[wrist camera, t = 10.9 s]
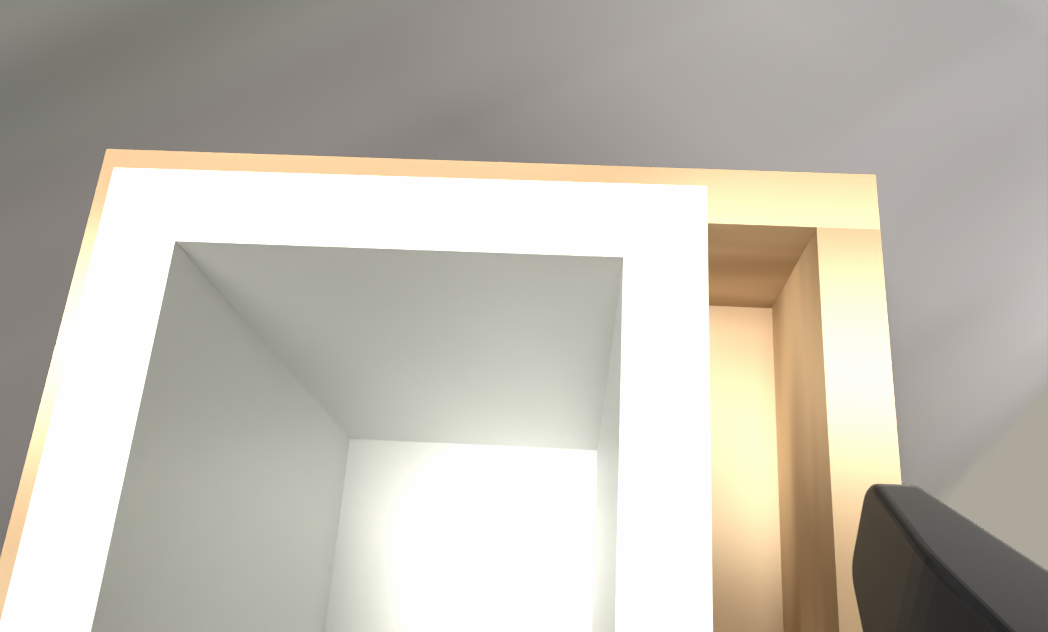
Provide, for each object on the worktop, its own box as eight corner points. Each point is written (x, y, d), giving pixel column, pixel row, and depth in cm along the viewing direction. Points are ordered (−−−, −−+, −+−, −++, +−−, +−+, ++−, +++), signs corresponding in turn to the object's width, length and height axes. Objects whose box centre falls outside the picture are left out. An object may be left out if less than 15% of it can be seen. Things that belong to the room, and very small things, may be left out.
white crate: (634, 777, 15) (716, 889, 7) (276, 752, 16) (-53, 831, 7) (639, 423, 18) (707, 185, 9) (325, 408, 18) (114, 167, 10)
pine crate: (848, 1037, 15) (959, 1176, 11) (54, 966, 16) (-133, 1069, 11) (809, 283, 20) (875, 174, 15) (201, 258, 20) (106, 149, 16)
